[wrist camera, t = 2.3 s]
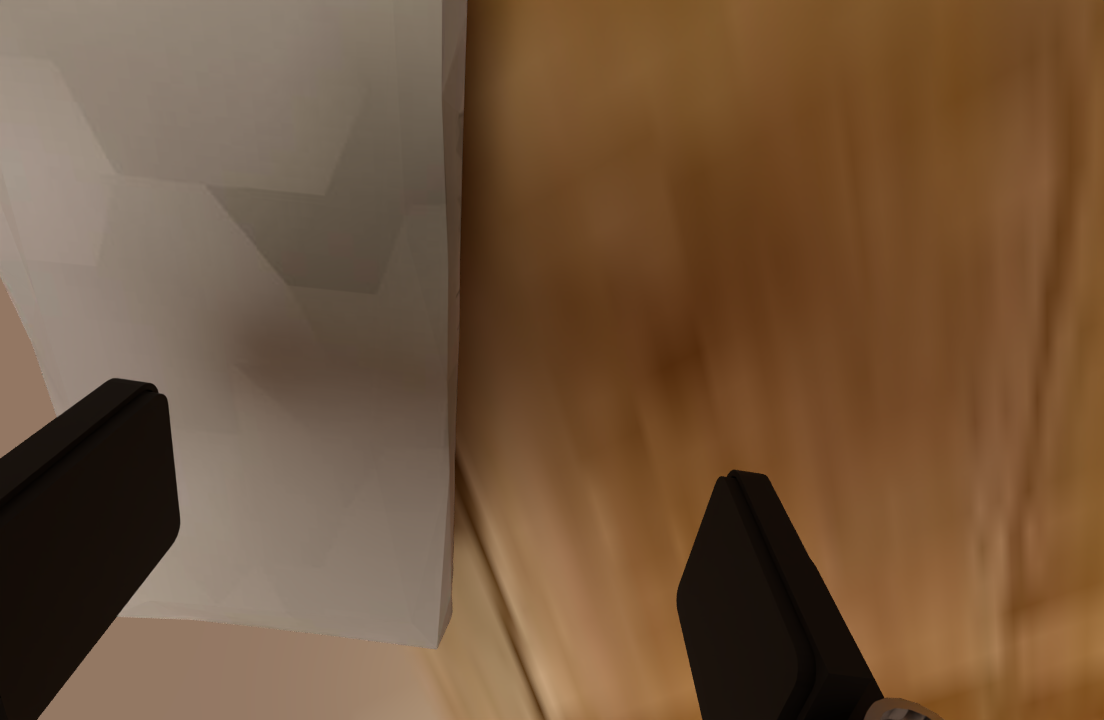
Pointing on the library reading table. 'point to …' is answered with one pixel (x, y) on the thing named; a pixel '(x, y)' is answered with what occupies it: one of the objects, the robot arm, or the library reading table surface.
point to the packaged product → (256, 283)
